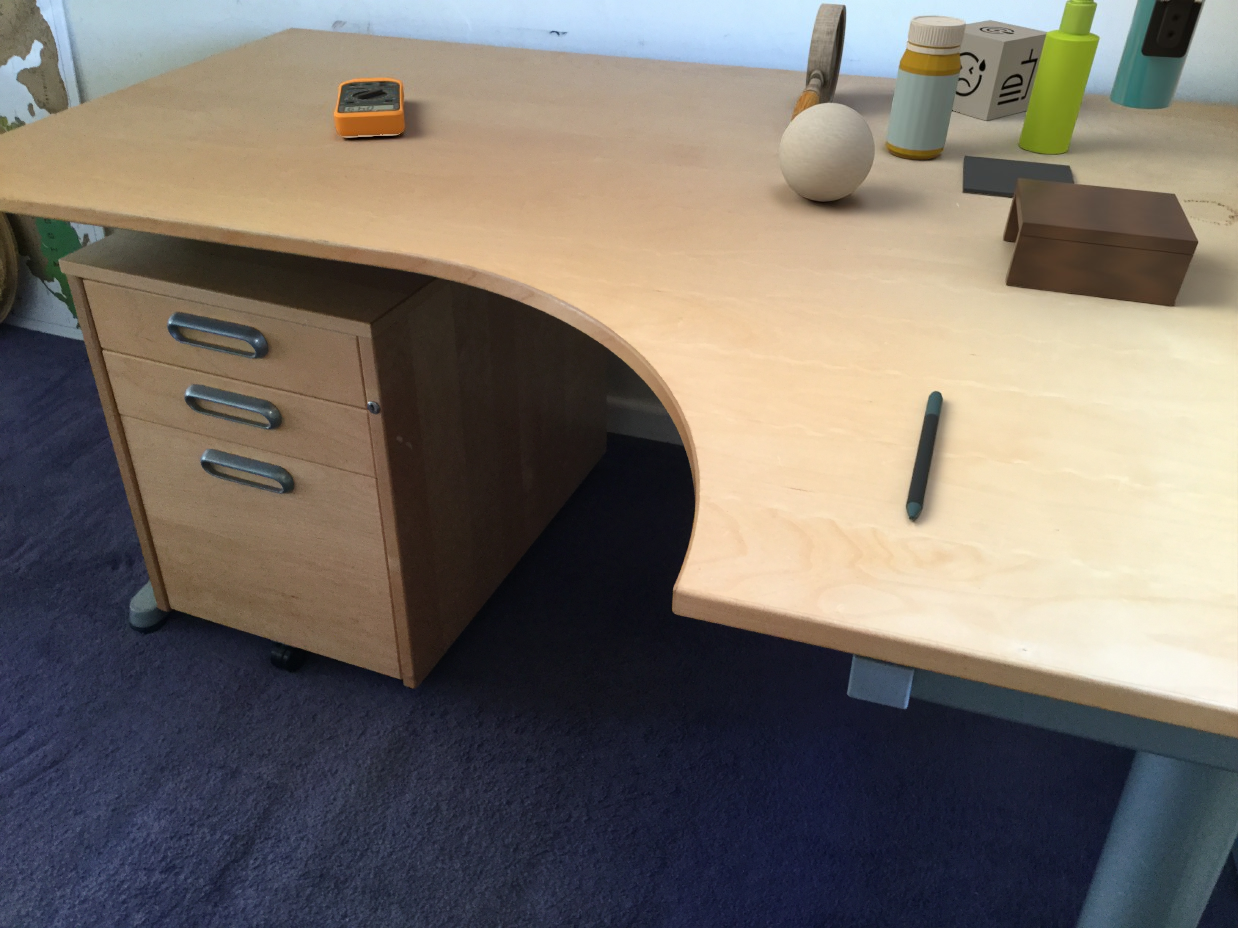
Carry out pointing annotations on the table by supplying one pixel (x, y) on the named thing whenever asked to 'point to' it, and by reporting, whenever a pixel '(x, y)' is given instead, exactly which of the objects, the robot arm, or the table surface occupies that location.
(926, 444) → the pen
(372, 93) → the multimeter
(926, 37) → the bottle
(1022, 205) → the wooden box
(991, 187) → the mat
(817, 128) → the ball
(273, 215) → the table surface
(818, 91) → the magnifying glass
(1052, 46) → the soap dispenser
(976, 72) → the icon cube
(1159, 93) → the spice jar
